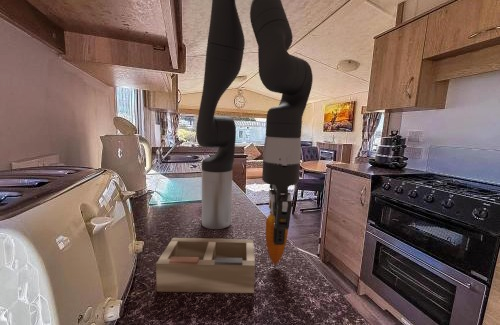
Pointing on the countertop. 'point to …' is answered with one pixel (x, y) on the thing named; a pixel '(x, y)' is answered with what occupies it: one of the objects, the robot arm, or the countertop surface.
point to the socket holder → (207, 266)
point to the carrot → (273, 249)
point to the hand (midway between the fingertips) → (276, 237)
